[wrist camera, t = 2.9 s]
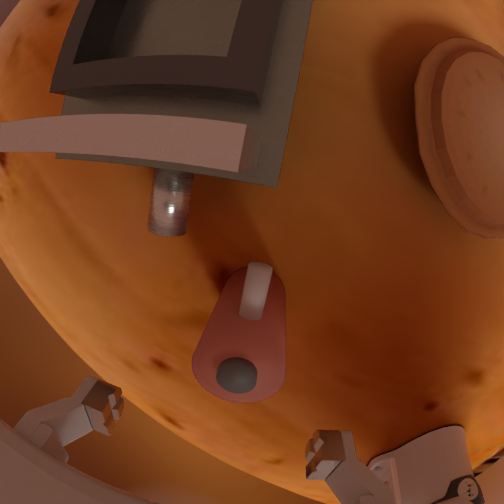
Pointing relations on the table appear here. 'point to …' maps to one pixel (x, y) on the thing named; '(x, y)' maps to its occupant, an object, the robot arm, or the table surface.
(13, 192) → the table surface
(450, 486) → the robot arm
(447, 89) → the pie
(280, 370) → the pink cylinder with stub
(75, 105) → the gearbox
